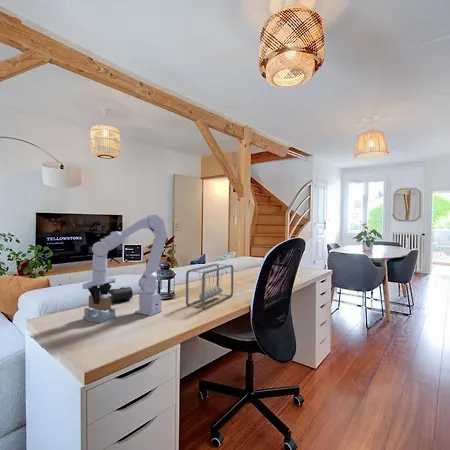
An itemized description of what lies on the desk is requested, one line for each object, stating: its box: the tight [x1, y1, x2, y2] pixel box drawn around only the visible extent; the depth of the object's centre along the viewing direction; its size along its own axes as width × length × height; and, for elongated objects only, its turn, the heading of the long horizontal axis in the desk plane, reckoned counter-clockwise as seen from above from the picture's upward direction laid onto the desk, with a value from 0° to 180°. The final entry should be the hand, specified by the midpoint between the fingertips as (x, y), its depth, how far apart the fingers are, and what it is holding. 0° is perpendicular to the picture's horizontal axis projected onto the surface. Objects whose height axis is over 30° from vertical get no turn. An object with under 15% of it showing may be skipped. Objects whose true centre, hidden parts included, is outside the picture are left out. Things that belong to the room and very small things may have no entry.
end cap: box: [108, 286, 134, 304], centre depth 143 cm, size 10×7×7 cm
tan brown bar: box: [88, 294, 112, 312], centre depth 117 cm, size 10×3×6 cm, turn 62°
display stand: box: [82, 307, 117, 324], centre depth 117 cm, size 11×8×4 cm
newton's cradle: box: [185, 262, 234, 310], centre depth 145 cm, size 30×10×18 cm, turn 151°
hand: (99, 302), depth 117 cm, fingers closed on tan brown bar, 3 cm apart
